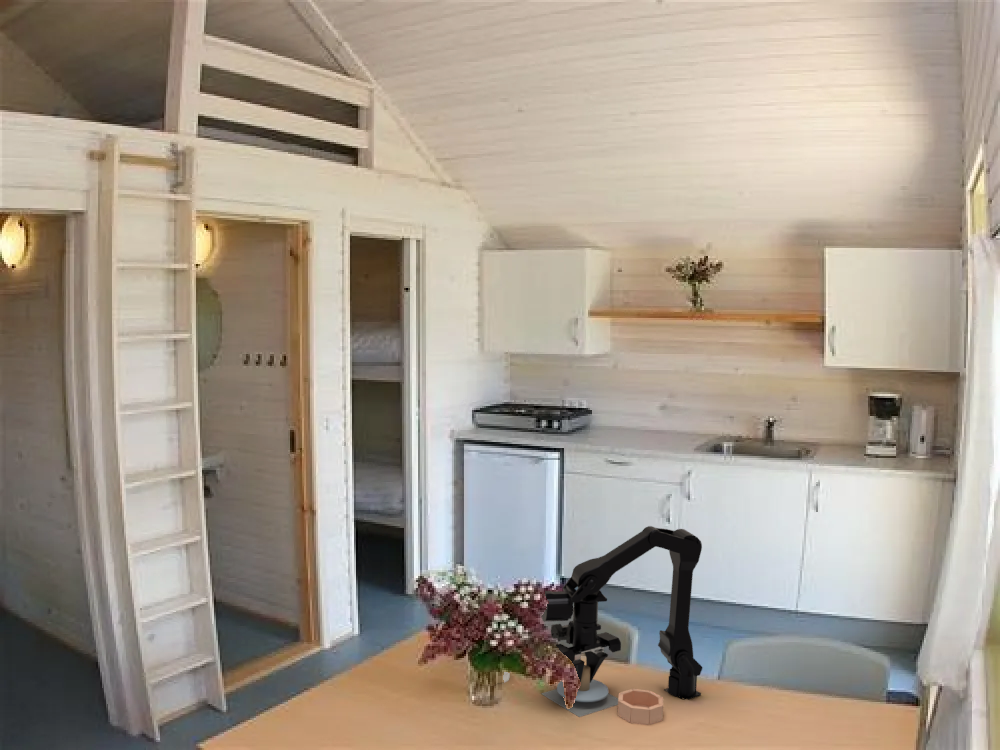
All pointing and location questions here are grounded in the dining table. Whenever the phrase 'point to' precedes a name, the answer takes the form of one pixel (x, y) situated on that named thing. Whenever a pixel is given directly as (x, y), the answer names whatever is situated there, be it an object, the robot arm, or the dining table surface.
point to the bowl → (640, 706)
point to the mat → (582, 703)
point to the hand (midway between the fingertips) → (582, 683)
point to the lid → (587, 688)
